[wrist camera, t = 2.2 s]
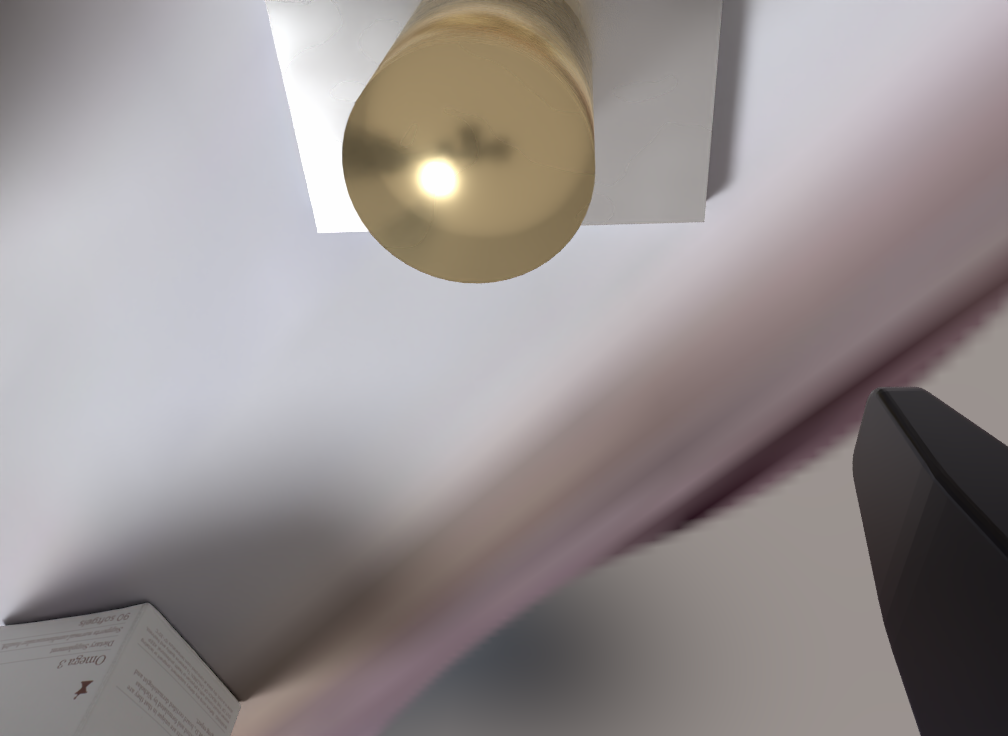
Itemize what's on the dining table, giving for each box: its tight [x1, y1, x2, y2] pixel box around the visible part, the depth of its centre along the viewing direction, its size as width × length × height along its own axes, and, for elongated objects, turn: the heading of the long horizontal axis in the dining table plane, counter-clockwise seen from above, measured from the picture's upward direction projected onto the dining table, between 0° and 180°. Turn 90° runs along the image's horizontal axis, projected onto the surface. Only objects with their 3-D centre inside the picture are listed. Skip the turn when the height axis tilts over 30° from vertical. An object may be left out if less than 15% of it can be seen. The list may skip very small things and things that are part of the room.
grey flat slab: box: [265, 0, 723, 233], centre depth 17 cm, size 9×7×1 cm
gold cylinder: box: [342, 0, 595, 283], centre depth 15 cm, size 4×4×5 cm
